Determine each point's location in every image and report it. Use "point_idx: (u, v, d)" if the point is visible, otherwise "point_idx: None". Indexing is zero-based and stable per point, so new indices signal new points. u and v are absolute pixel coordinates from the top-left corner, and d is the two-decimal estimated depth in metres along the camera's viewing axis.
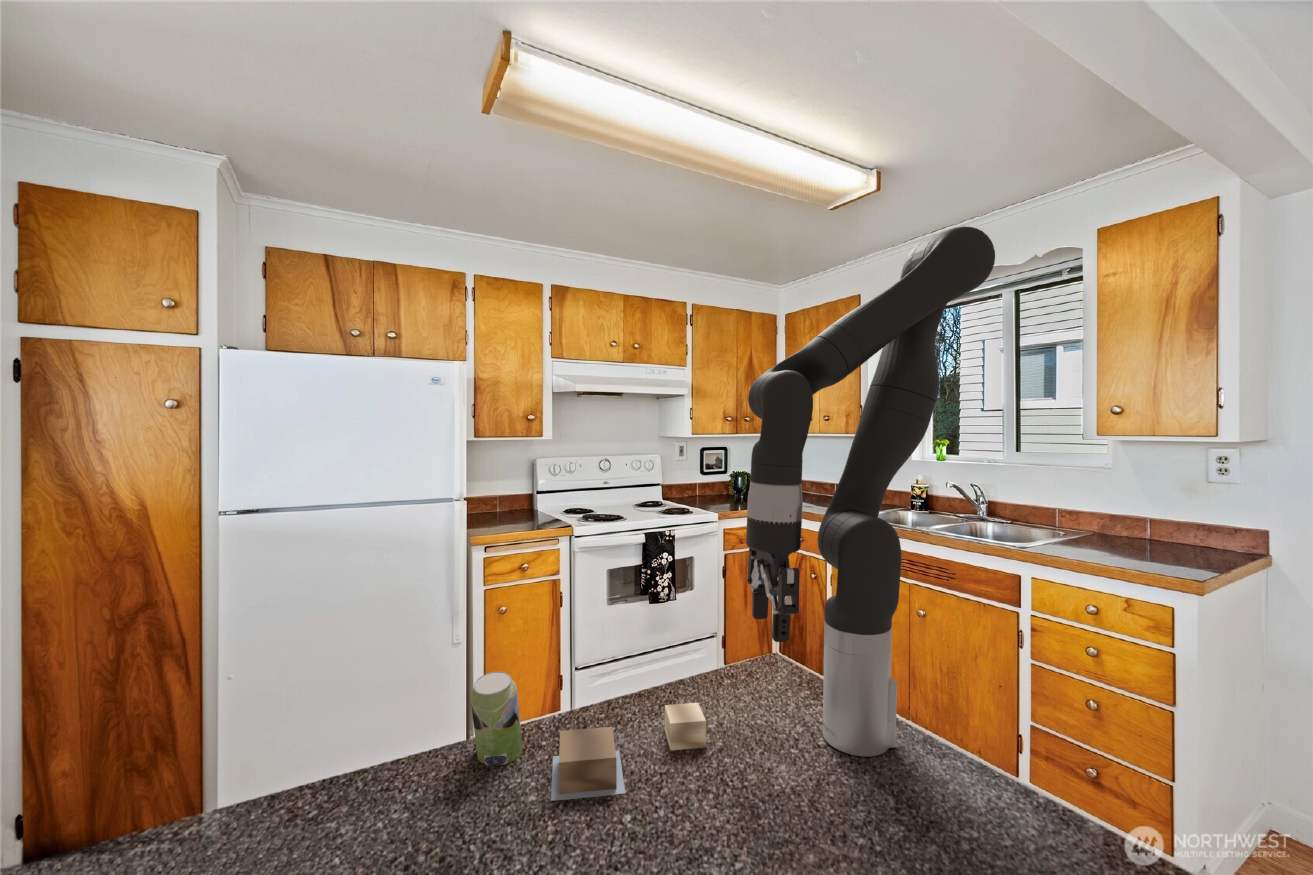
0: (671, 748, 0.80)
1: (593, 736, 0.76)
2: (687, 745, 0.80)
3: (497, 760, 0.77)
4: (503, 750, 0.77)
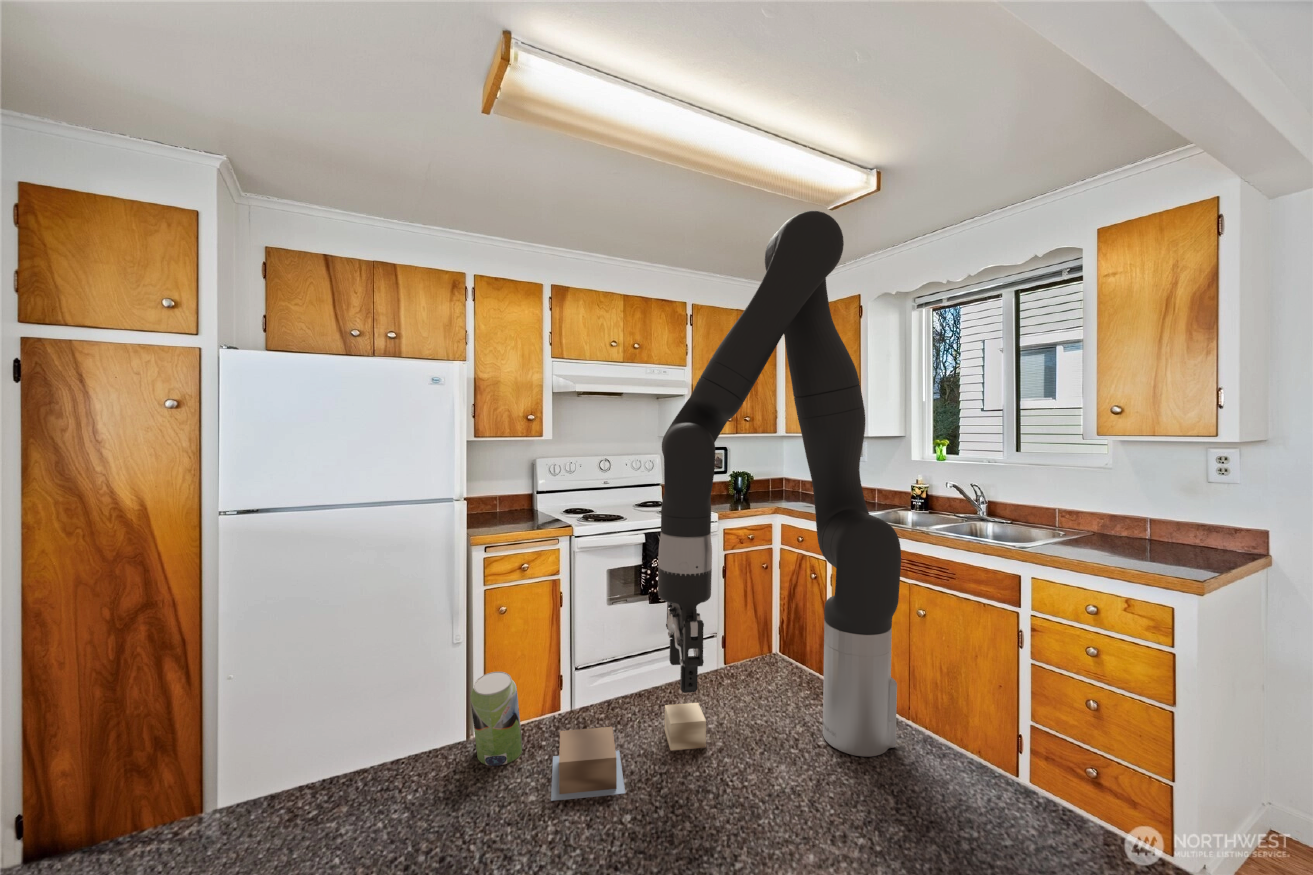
0: (671, 748, 0.80)
1: (593, 736, 0.76)
2: (687, 745, 0.80)
3: (497, 760, 0.77)
4: (503, 750, 0.77)
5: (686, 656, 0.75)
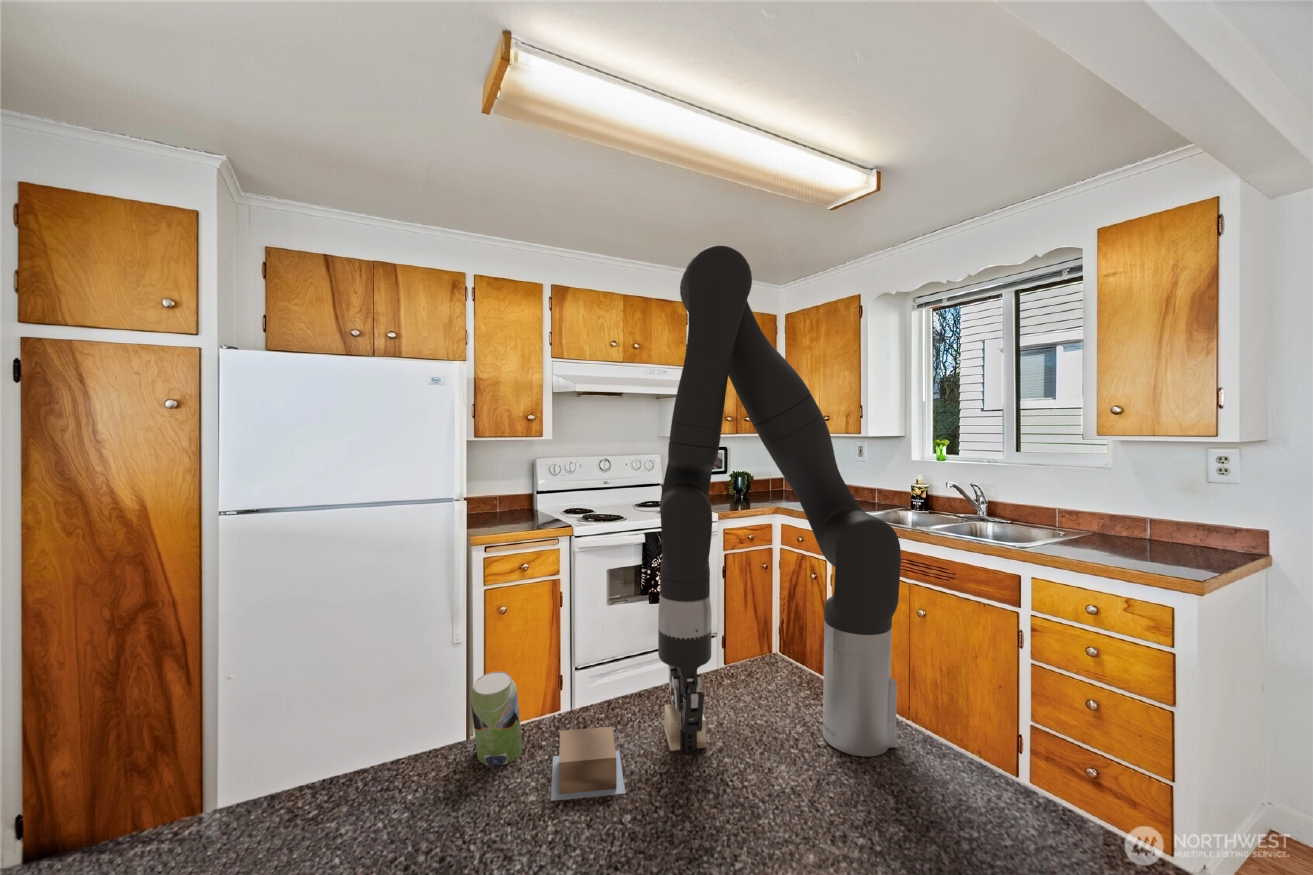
0: (671, 748, 0.80)
1: (593, 736, 0.76)
2: None
3: (497, 760, 0.77)
4: (503, 750, 0.77)
5: (685, 725, 0.77)
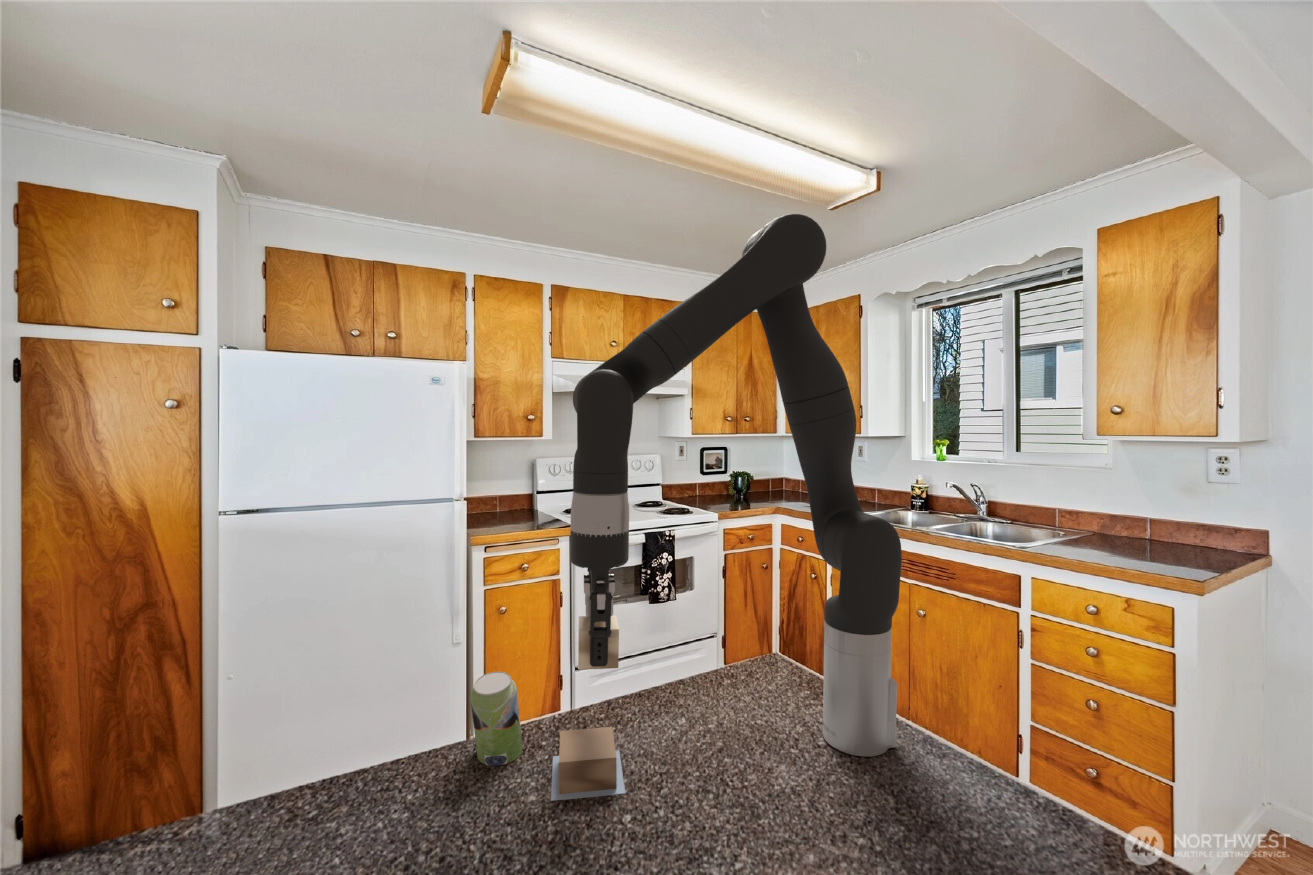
0: (579, 658, 0.73)
1: (593, 736, 0.76)
2: None
3: (497, 760, 0.77)
4: (503, 750, 0.77)
5: (592, 628, 0.69)
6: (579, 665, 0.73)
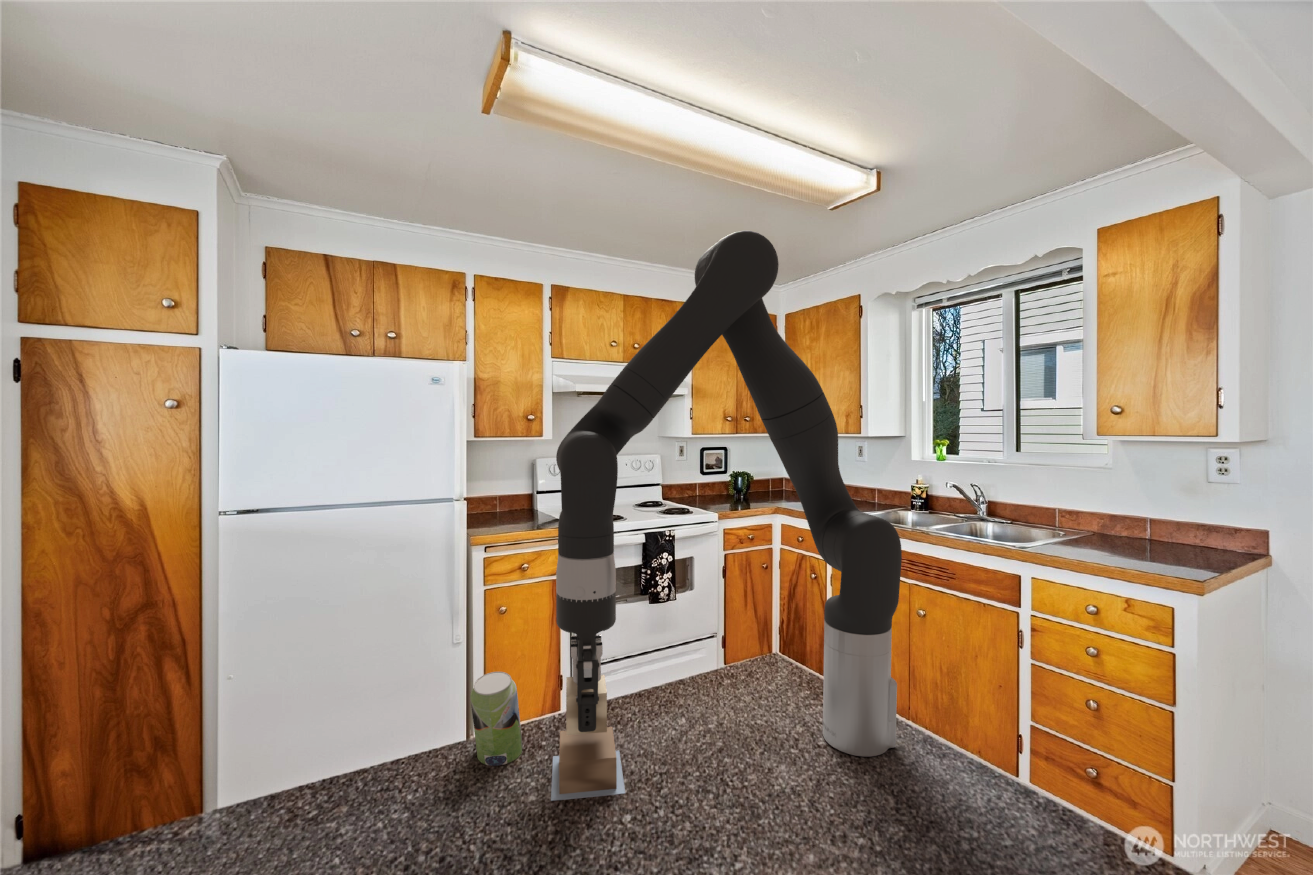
0: (567, 723, 0.72)
1: (593, 736, 0.76)
2: None
3: (497, 760, 0.77)
4: (503, 750, 0.77)
5: (579, 696, 0.68)
6: (567, 730, 0.72)
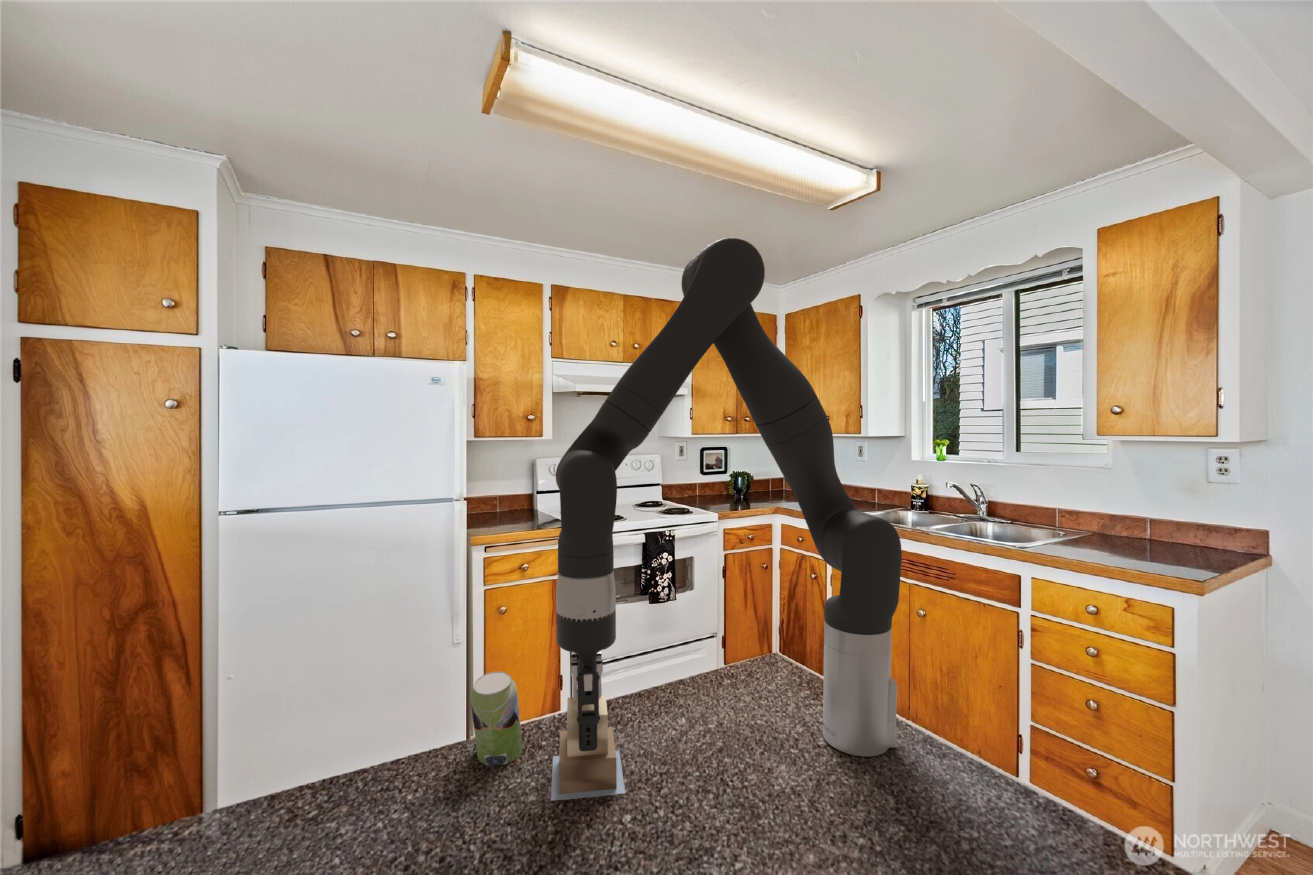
0: (568, 745, 0.72)
1: None
2: None
3: (497, 760, 0.77)
4: (503, 750, 0.77)
5: (579, 713, 0.67)
6: (568, 752, 0.72)
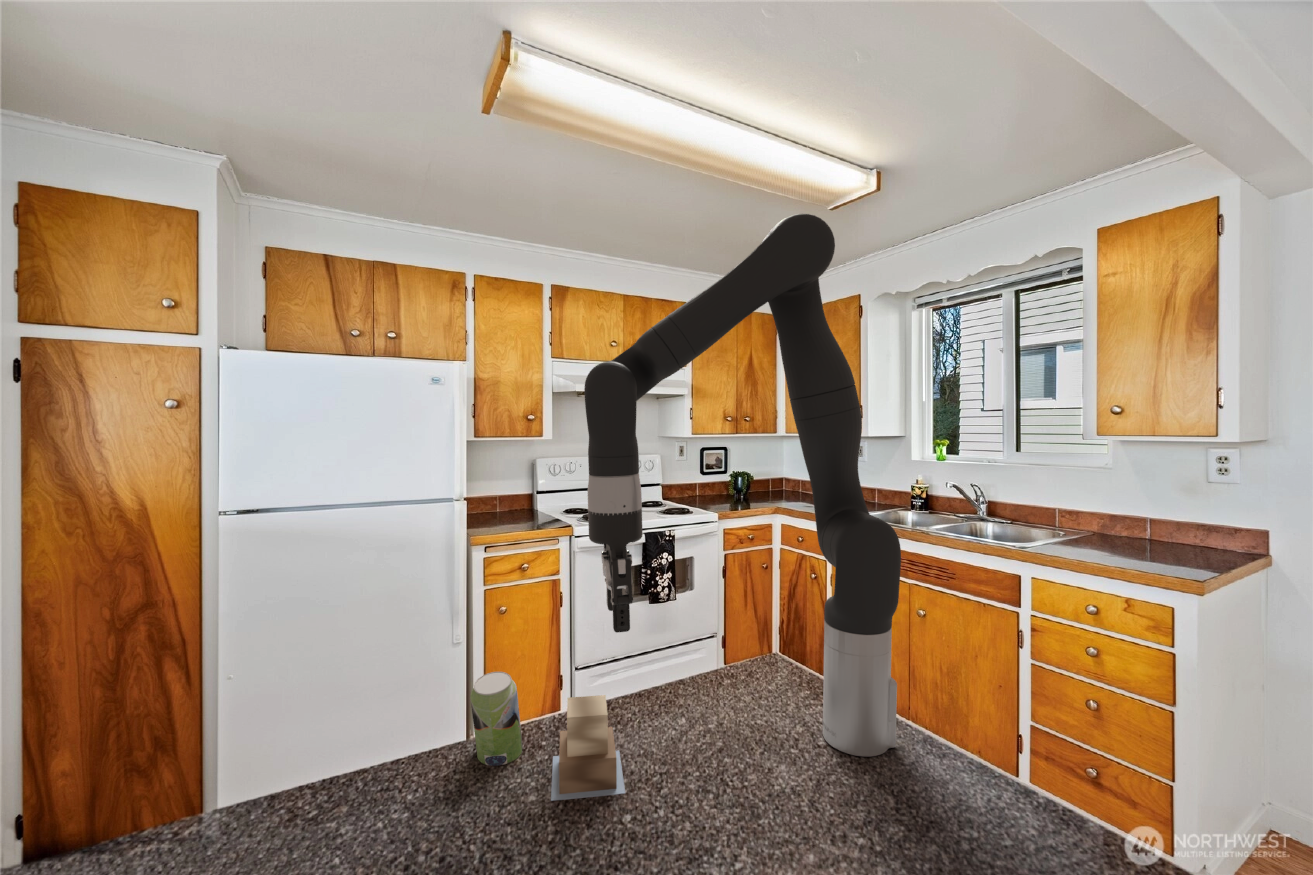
0: (568, 745, 0.72)
1: None
2: (587, 741, 0.72)
3: (497, 760, 0.77)
4: (503, 750, 0.77)
5: (615, 593, 0.75)
6: (568, 752, 0.72)
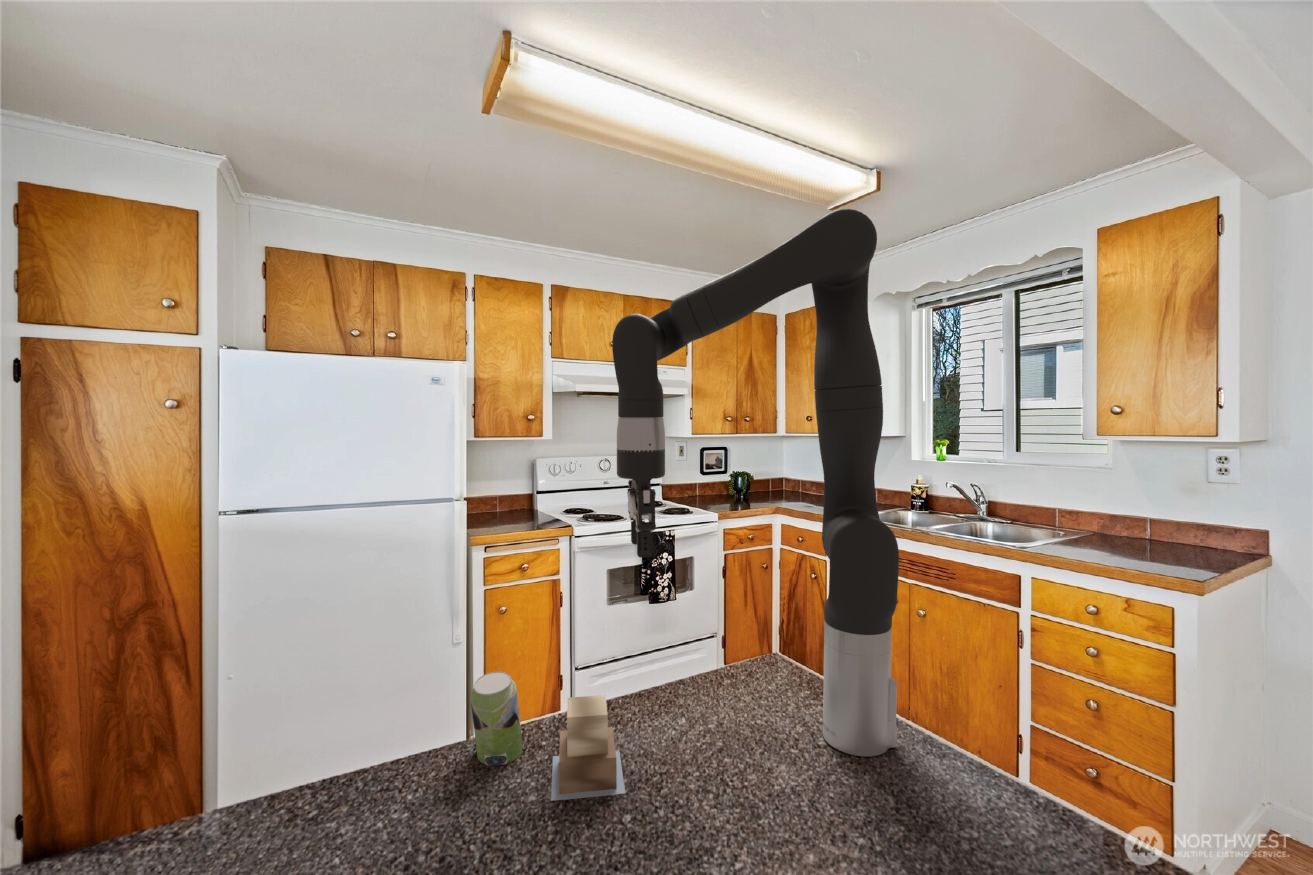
0: (568, 745, 0.72)
1: None
2: (587, 741, 0.72)
3: (497, 760, 0.77)
4: (503, 750, 0.77)
5: (640, 520, 0.83)
6: (568, 752, 0.72)
